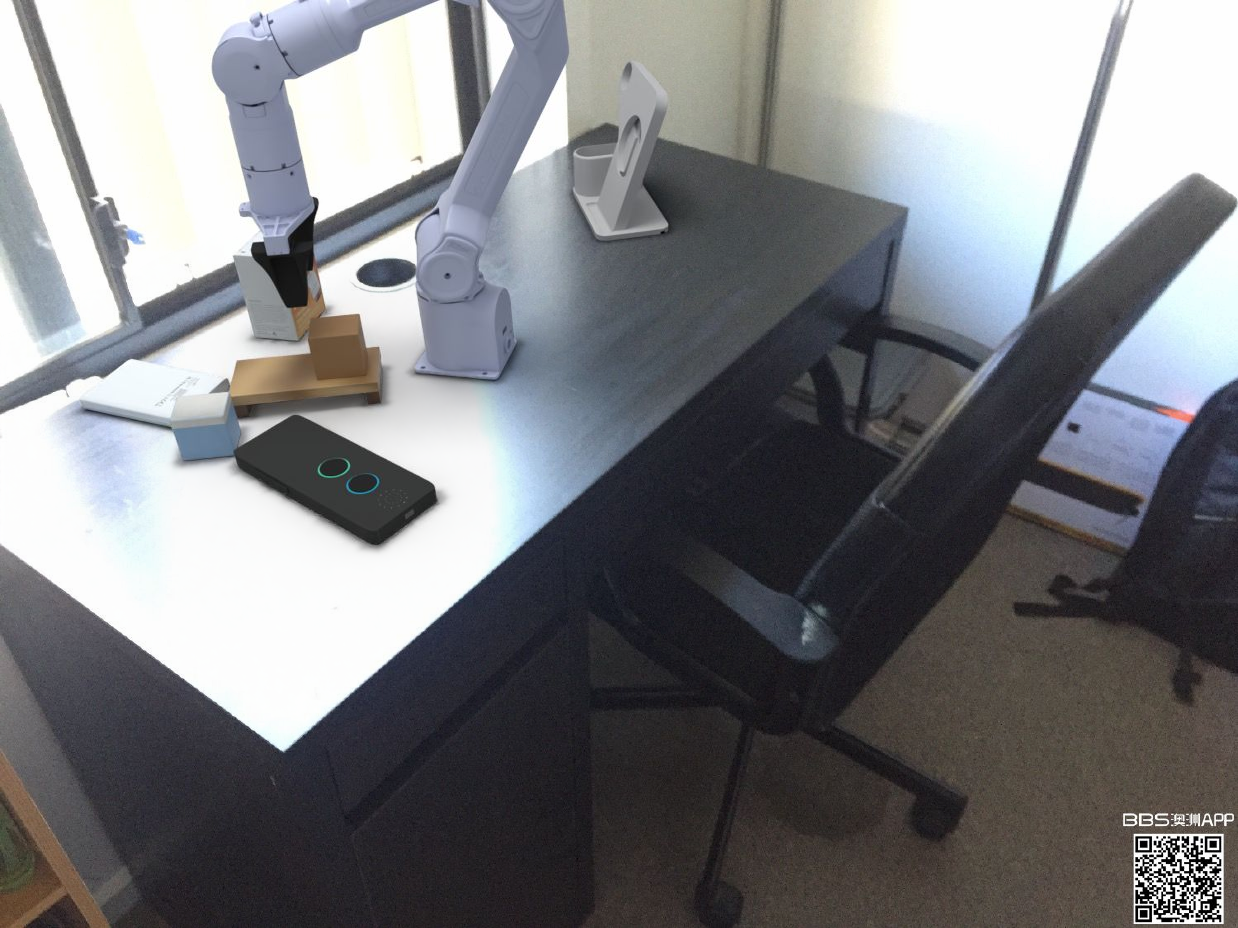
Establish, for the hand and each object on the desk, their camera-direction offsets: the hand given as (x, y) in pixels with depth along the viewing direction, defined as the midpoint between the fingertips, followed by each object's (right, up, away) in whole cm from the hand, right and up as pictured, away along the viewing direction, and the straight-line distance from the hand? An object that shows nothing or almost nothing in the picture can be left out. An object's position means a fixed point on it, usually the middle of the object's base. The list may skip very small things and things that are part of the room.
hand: (300, 287), depth 108 cm
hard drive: (-16, -11, +3) cm, 20 cm away
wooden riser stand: (0, -11, +3) cm, 11 cm away
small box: (-6, -2, +15) cm, 16 cm away
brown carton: (+4, -8, +2) cm, 9 cm away
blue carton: (-8, -16, -4) cm, 18 cm away
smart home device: (+6, -20, -9) cm, 23 cm away
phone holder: (+33, +17, +37) cm, 52 cm away
